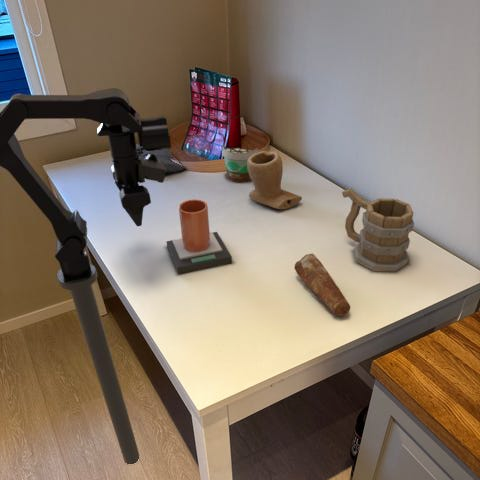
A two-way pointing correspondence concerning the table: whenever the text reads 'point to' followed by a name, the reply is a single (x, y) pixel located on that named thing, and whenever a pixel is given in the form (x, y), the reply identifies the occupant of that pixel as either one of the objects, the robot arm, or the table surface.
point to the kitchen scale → (199, 255)
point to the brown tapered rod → (322, 284)
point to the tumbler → (194, 225)
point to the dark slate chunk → (162, 158)
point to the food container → (237, 163)
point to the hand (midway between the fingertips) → (136, 216)
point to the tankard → (380, 232)
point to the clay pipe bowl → (269, 181)
